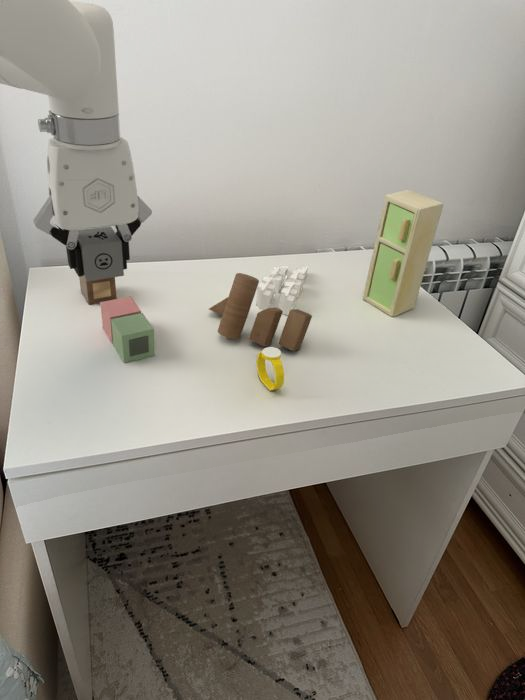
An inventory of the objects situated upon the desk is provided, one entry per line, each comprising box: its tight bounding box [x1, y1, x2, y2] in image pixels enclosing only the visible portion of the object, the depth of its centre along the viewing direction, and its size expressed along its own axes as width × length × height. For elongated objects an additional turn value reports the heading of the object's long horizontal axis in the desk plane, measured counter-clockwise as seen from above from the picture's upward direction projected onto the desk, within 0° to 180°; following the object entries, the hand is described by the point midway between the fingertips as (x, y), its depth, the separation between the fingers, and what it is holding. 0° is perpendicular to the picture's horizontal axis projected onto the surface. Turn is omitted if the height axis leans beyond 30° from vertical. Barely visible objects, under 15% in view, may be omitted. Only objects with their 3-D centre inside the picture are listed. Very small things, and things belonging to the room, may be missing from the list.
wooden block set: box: [208, 272, 313, 352], centre depth 88 cm, size 18×9×10 cm, turn 59°
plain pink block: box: [99, 296, 142, 345], centre depth 86 cm, size 5×5×5 cm
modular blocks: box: [255, 265, 309, 316], centre depth 104 cm, size 20×7×4 cm, turn 165°
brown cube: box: [78, 276, 118, 305], centre depth 95 cm, size 5×5×5 cm
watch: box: [256, 346, 285, 392], centre depth 78 cm, size 6×3×6 cm, turn 28°
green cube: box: [111, 312, 156, 364], centre depth 83 cm, size 5×5×5 cm
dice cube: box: [77, 226, 125, 282], centre depth 71 cm, size 5×5×5 cm
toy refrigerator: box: [362, 189, 444, 317], centre depth 97 cm, size 8×7×21 cm
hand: (100, 267), depth 73 cm, fingers closed on dice cube, 5 cm apart
